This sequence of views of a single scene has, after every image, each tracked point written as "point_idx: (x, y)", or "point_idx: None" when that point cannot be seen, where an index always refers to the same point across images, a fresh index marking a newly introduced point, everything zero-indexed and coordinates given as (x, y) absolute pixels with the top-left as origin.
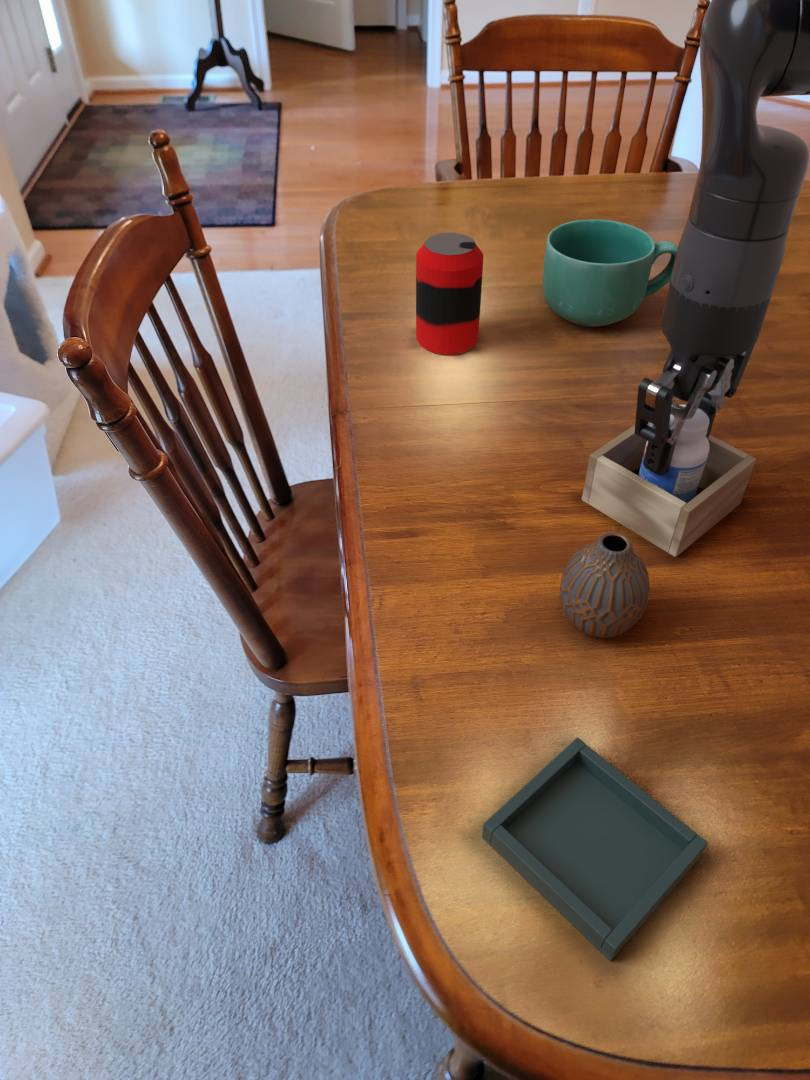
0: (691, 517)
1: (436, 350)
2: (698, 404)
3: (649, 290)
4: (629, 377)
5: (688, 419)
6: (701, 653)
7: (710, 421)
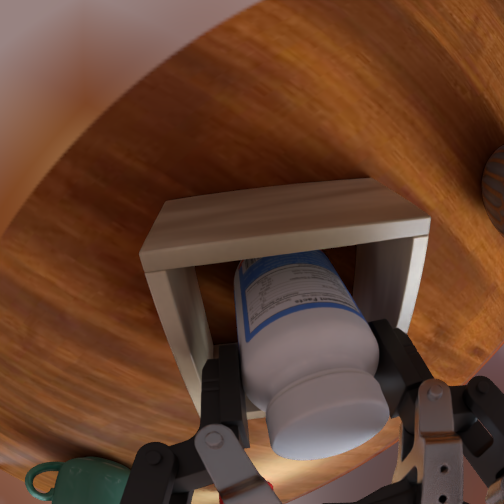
0: (404, 207)
1: (269, 484)
2: (430, 478)
3: (55, 466)
4: (123, 426)
5: (338, 430)
6: (470, 57)
7: (237, 402)
